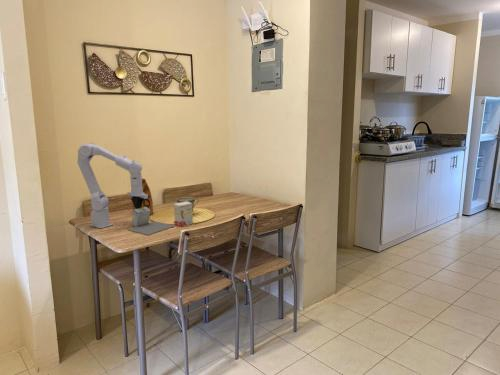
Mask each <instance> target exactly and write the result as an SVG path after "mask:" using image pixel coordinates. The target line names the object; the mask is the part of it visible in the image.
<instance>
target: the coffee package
mask: <svg viewBox="0 0 500 375" xmlns="http://www.w3.org/2000/svg"><path fill="white" fill-rule="evenodd" d="M142 188H143V192H144V194H147V195H148V198H147V199H144V200H143V203H142V206H141V208H142V207H147V208H148V209H149V210H151V211H150V216H151V215H154V209H153V208H154V207H153V204H154V203H153V198H152V193H151V188H150V187H149V184H148V183H147V181H146V178H143V177H142ZM131 198H133V196H131ZM131 207H132V211H133V210H134V209H136V208H135V206H134V203H133V202H132V201H131Z"/></svg>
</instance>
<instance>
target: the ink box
mask: <svg viewBox="0 0 500 375" xmlns="http://www.w3.org/2000/svg"><path fill="white" fill-rule="evenodd" d="M173 208H174V209H173V210H174V226H175V227H176V226H177V227H179V228H182V227H187V226H189V225H192V224H194V222H193V220H194V219H193V214H192V203H190V202H187V201H186V202H181V203H178V202H176V203H174V206H173Z"/></svg>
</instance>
